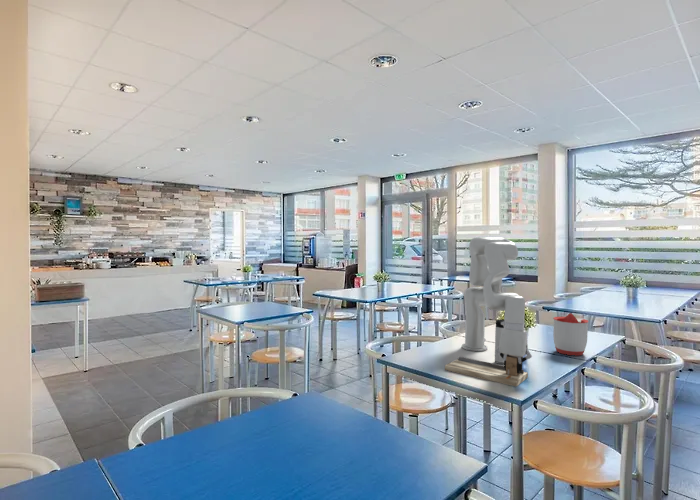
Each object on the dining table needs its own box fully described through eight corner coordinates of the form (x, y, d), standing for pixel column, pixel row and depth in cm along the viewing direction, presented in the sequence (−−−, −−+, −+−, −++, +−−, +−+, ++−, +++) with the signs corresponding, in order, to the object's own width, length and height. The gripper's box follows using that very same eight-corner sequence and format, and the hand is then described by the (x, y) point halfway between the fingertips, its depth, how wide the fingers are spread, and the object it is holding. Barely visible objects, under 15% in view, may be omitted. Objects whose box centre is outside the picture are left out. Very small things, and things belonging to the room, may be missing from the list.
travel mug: (511, 365, 186) (512, 321, 186) (495, 364, 188) (496, 320, 187) (508, 361, 193) (509, 318, 192) (493, 360, 194) (494, 317, 193)
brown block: (510, 371, 172) (510, 354, 171) (520, 373, 169) (520, 356, 169) (502, 376, 165) (503, 358, 165) (513, 378, 163) (513, 360, 162)
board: (459, 362, 190) (459, 355, 190) (527, 377, 171) (528, 368, 170) (444, 370, 179) (445, 361, 179) (516, 386, 160) (516, 377, 160)
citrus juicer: (595, 353, 208) (596, 314, 207) (577, 359, 198) (578, 317, 197) (564, 346, 220) (565, 309, 220) (545, 351, 210) (547, 312, 210)
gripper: (490, 324, 170) (489, 369, 171) (533, 331, 160) (531, 378, 160) (496, 322, 176) (495, 364, 177) (538, 327, 165) (537, 373, 166)
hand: (513, 370), depth 168 cm, fingers closed on brown block, 4 cm apart
